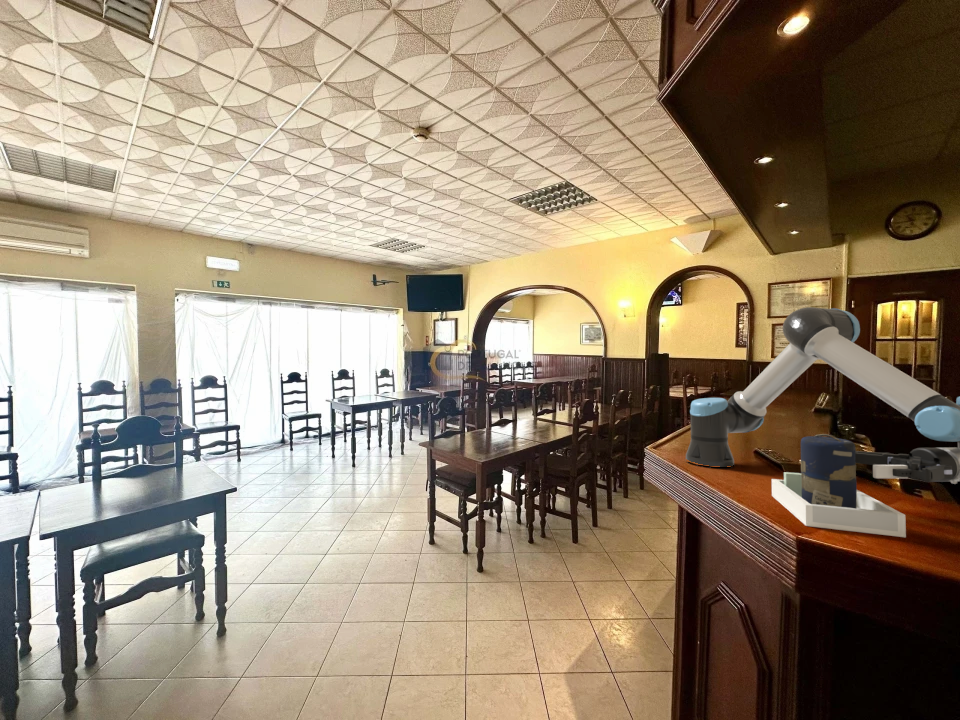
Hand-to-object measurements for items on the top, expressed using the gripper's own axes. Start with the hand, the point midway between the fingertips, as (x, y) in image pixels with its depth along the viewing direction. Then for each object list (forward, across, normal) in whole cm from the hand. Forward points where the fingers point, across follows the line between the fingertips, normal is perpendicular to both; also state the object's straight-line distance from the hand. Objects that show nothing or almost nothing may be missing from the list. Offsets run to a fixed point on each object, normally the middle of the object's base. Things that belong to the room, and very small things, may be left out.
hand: (845, 463), depth 91 cm
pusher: (0, +9, -11) cm, 14 cm away
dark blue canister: (+4, 0, -11) cm, 12 cm away
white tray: (+2, +2, -12) cm, 13 cm away
